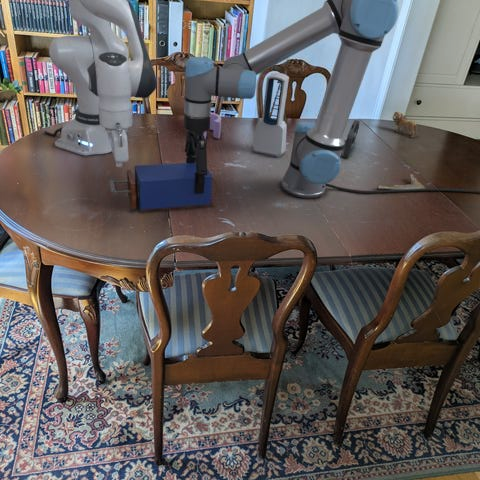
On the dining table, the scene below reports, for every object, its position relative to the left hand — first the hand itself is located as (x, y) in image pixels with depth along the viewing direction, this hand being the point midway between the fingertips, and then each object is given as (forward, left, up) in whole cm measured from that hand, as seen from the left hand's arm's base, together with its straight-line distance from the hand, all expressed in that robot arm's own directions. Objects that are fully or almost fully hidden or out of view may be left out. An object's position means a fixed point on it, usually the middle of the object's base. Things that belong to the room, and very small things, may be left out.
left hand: (118, 165), depth 134 cm
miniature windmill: (+27, +95, -13) cm, 99 cm away
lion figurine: (+84, +119, -13) cm, 146 cm away
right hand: (+18, +13, -8) cm, 24 cm away
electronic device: (+31, +63, -13) cm, 71 cm away
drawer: (+8, +6, -12) cm, 16 cm away
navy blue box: (+13, +9, -13) cm, 21 cm away
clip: (0, +73, -13) cm, 74 cm away
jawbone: (+81, +56, -13) cm, 100 cm away
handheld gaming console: (+62, +83, -13) cm, 104 cm away
